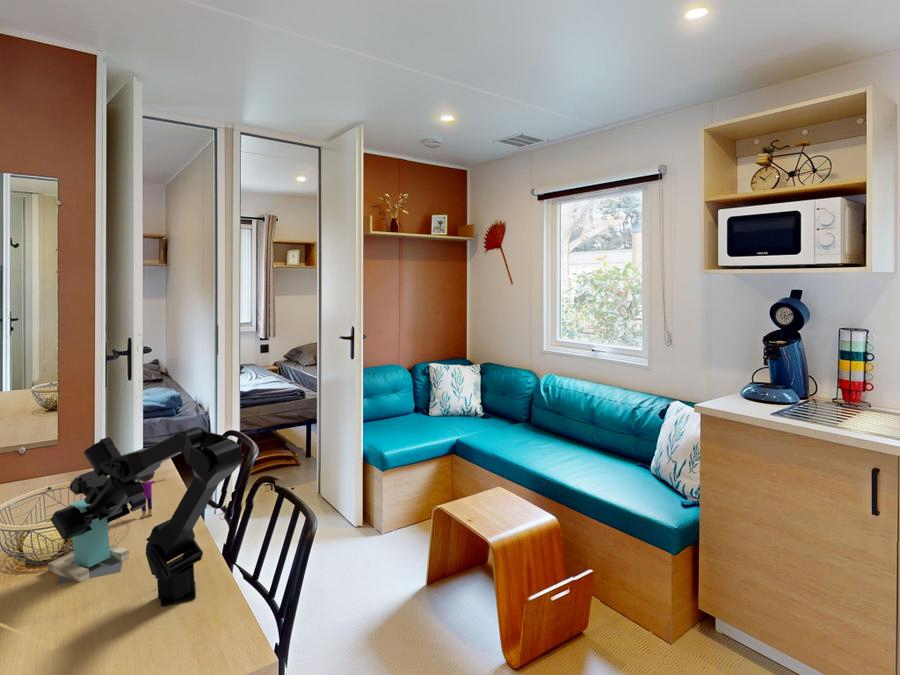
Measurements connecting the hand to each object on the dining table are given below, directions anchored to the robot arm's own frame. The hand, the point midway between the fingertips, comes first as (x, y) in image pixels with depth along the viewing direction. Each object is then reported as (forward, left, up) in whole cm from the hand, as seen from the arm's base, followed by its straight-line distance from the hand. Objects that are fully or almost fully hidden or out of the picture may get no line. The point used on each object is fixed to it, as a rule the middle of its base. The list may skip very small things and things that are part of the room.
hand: (86, 529), depth 125 cm
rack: (-1, +1, -8) cm, 9 cm away
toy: (-11, -23, -9) cm, 27 cm away
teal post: (-1, +1, -7) cm, 7 cm away
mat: (-1, +1, -9) cm, 9 cm away
